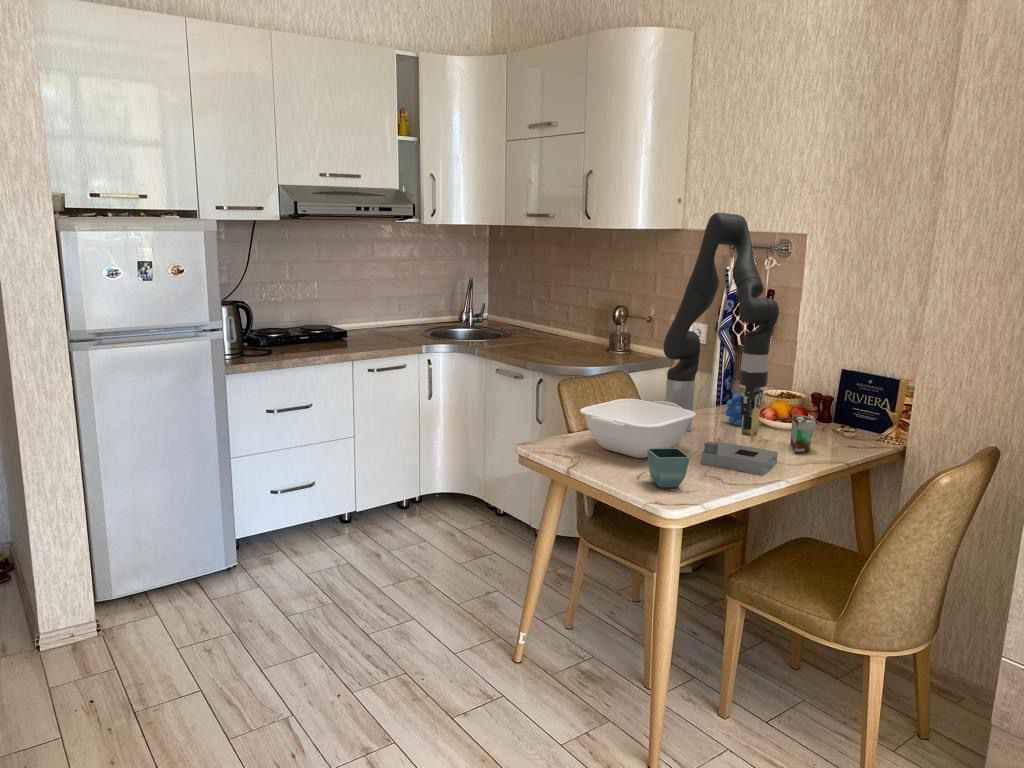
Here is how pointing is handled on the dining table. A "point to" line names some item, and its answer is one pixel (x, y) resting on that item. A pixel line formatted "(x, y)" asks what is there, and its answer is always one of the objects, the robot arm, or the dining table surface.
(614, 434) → the white basin
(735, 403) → the blue knobby disc
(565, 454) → the dining table surface
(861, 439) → the dining table surface
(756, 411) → the gold peg
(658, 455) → the flower pot
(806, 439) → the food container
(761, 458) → the plate
